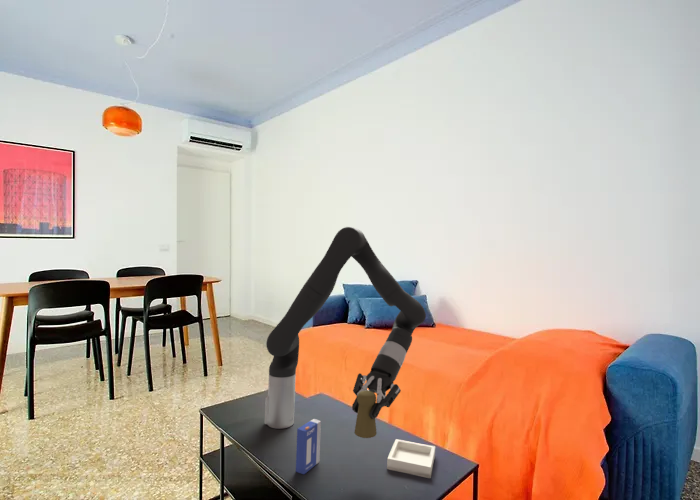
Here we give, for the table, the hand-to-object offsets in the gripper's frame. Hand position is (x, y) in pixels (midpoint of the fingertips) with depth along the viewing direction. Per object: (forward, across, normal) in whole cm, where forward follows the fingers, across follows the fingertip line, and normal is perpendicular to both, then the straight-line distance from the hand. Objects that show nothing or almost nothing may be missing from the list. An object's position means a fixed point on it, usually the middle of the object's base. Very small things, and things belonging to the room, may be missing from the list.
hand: (363, 414), depth 102 cm
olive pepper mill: (+3, 0, +5) cm, 6 cm away
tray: (+1, +7, +23) cm, 24 cm away
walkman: (+16, -14, +8) cm, 23 cm away
